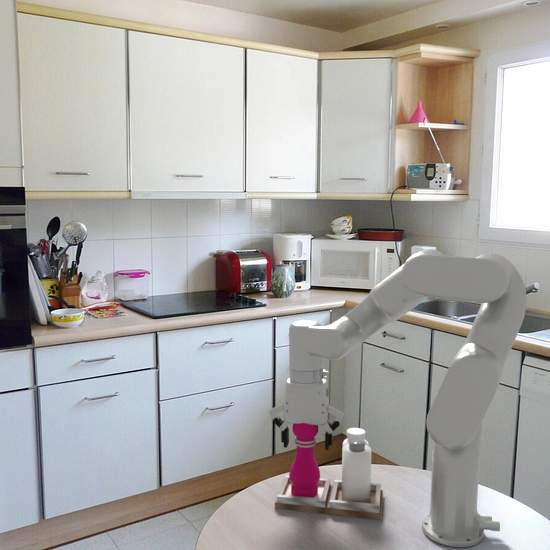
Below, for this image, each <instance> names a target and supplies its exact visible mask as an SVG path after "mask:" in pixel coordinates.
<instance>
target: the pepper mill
mask: <svg viewBox="0 0 550 550" xmlns="http://www.w3.org/2000/svg"><path fill="white" fill-rule="evenodd" d="M291 428H292V433H293V435H294V438H293V439H294V445H295V446H296V447H295V448H296V454H295V458H294V460H293V462H292V464H291V466H290V469H289V474H288V475H289V478H290V480H291V482H292V485H291V493H292V495H293V496H300V497H310V498H313V497H315V496H316V495H317V494H318V485H317V483H318V481H319V480H320V478H321V471H320V468H319V465H318V462H317V460H316V458H315V452H314V451H315V449H314V448H315V446H316V444H317V438H316V436H317V435H318V433H319V425H311V424H307V423H299V424H292V427H291Z"/></svg>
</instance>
